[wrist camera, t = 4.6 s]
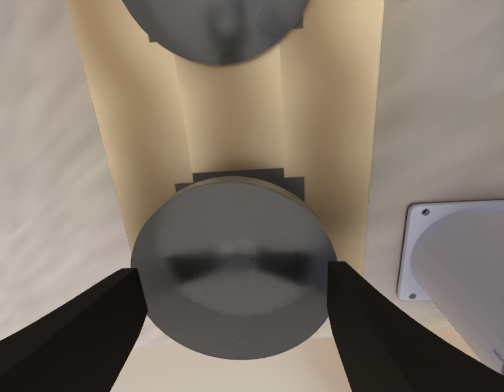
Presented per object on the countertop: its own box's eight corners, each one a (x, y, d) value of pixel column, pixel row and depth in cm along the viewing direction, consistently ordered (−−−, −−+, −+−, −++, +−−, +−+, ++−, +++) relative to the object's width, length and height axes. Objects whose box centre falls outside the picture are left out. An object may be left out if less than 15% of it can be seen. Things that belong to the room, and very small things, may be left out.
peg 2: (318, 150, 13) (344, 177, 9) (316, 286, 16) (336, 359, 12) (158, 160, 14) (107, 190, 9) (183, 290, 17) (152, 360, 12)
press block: (354, -99, 14) (400, -201, 9) (340, 237, 20) (362, 280, 15) (105, -68, 15) (29, -146, 10) (168, 244, 21) (140, 286, 16)
